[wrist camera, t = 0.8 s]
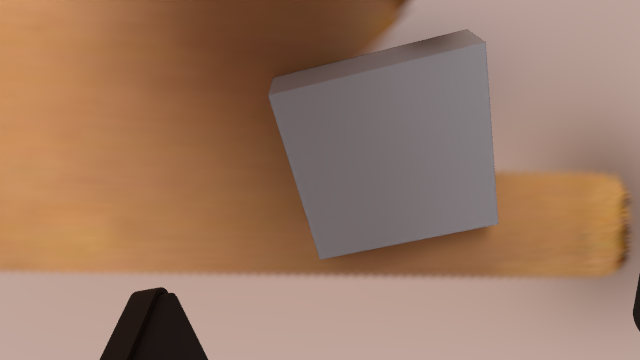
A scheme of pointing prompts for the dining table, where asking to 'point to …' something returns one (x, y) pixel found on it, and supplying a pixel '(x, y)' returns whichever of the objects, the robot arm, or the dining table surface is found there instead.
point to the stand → (391, 144)
